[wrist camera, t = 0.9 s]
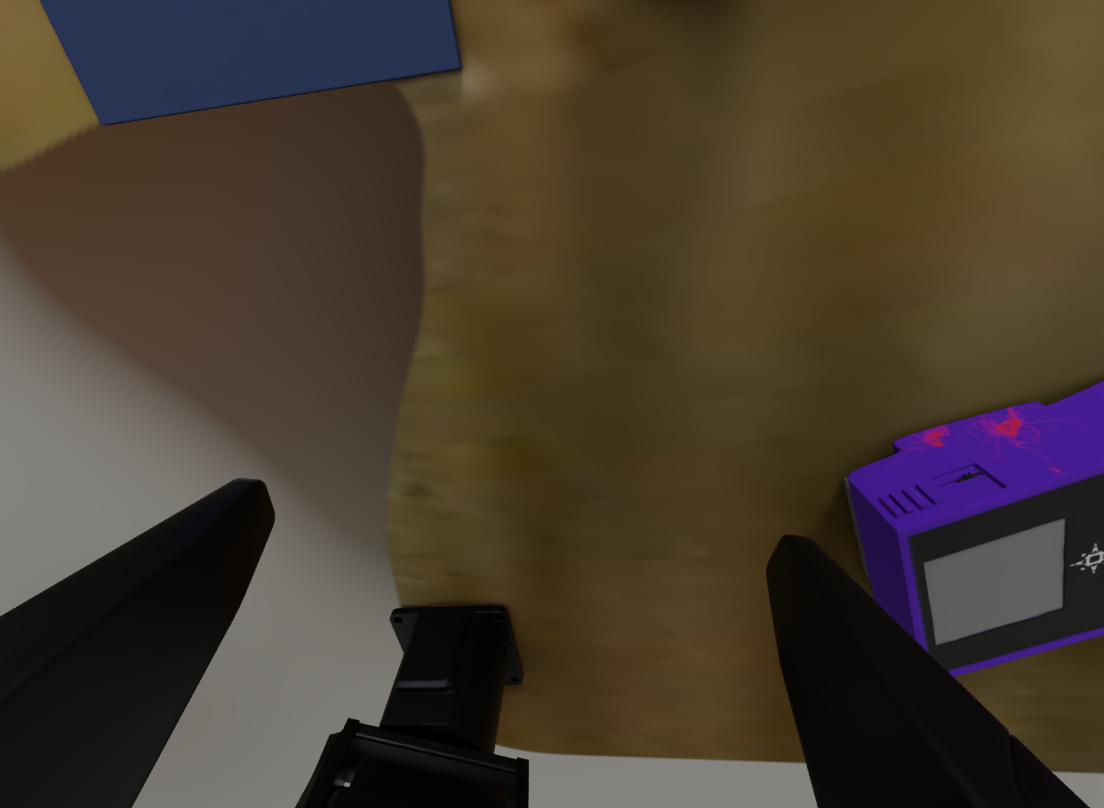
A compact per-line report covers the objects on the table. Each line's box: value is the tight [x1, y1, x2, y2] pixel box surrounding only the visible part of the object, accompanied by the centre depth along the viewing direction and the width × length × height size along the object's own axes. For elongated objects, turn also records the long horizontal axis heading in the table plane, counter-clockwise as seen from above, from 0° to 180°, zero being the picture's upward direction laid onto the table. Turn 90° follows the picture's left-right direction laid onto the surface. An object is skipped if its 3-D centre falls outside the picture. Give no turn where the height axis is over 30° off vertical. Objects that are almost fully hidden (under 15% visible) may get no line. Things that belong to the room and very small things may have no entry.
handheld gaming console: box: [844, 381, 1104, 677], centre depth 20 cm, size 9×5×15 cm
